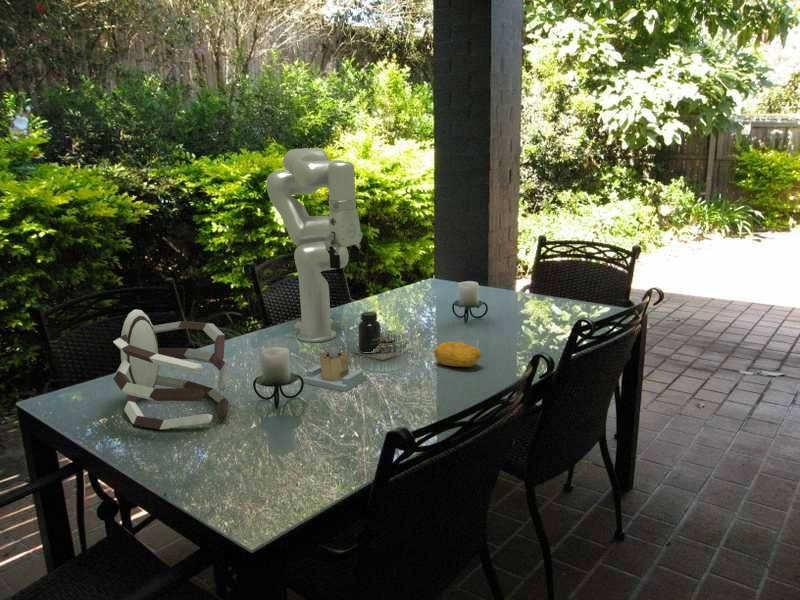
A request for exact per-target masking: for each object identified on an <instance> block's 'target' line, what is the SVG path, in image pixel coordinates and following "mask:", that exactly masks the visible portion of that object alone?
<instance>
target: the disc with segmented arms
mask: <svg viewBox="0 0 800 600" xmlns="http://www.w3.org/2000/svg"><path fill="white" fill-rule="evenodd" d="M182 329H183V330H184V329H190V330H201V331H203V332H204V333H206V335H207V336H208V337H210V338H211V340H213V342H214V349H213V352H212V351H211V352H210V351H205V350H200V349H195V348H189V347H159V345H158V338H157V335H156V334H157V333H163V332H164V333H165V332H169V331H175V330H182ZM225 335H226V334H225V333H223V332H222V331H221V330H220V329H219V328H218V327H217V326H216V325H215V324H214V323H209V322H199V321H187V320H186V321H184V320H181V321H176V322H175V321H174V322H168V323H167V322H166V323H163V324H157V325H153V324H152V322H151V319H150V318H149V315H147V314H146V313H145V312H144V311H143V310H141V309H133V310H131V312H129V313H128V314H127V316H126V318H125V320H124V322H123V325H122V329H121V336H119V337H117V338H116V339H115V340H113V341H112V342H113V344H114V345H115V346H116V347H117V348H118V349H119V350H120V361H121V363H120V365H119V367H118V368H117V370H116V371H115V374H114V376H113V377H112V379H113V381H114V382H115V384H116V385H117V387H118V388H119V390H120V391H121V392H123V393H125V394H126V395H127V397H126V401H125V405H124V409H123V411H124V412H125V414H126V415H127V417H128V418H129V421H130V422H131V424H132V423H133V424H136V425H135V426H138V425H140V426H139V427H143V426H144V427H145V428H150V429H156V430H170V429H169V428H173V429H179V427H180V428H186V427H193V426H199V425H207V424H210V423H211V421H212V419H213V414H209V413H203V414H196V415H189V416H182V417H175V418H169V419H159V418H154V417H148V416H145V415H144V414H143V413H142V411H141V410H140V408H139V406H138V405H137V404H136V400H137V398H139V399H140V398H141V399H145V400H148V401H149V400H150V401H153V402H201V401H202V400H203V398H204V395H206V396H205V397H208V396H210V397H209V398H211V399H212V398H213V399H212V400H214V401H215V402H216V403H217V402H218V403H217V410H216V413H215V415H216V416H218V417H219V418H220V419H222V418H223V417H224V416H225V415H227V413H228V408H229V401H228V399H227V398H226V397H225V396H224V395H223V394H222V393H220V392H218V391H217V390H216V389H215V388H214V387H210V386H207V385H205V384H200V383H197V382H194V381H191V380H185V379H181V378H174V377H171V376H164V375H159V368H160V366H162V367H166V368H171V369H175V370H179V371H182V372H183V371H184V372H188V373H192V374H197V375H199V374H200V373H201V372H202V371H204V368H203V365H202V364H201V363H197V362H202V363H207V364H212V365H213V366H214V367H216V369H218V371H219V376H218V383H217V389H219V390H220V391H221V392H225V390H226V388H227V387H228V385H229V383H230V373H231V366H230V365H229V364H228V363H227V362H226V361H224V358H225V339H226V338H225V337H226V336H225ZM189 360H193V361H197V362H193V361H189ZM156 385H157V386H162V387H163V386H164V387H166V388H158V387H157V388H155V387H156ZM133 424H132V425H133ZM144 427H143V428H144Z"/></svg>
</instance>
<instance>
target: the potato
mask: <svg viewBox="0 0 800 600" xmlns="http://www.w3.org/2000/svg"><path fill="white" fill-rule="evenodd" d="M433 354H434V356H435V359H436V360H437V361H438V362H439V363H441V364H442V365H443V366H450V367H454V366H455V367H454V368H465V367H467V368H469V367H472V366H474V365H475V364H477V363H478V361H479V360H480V358H481V355H482V352H481V351H480V349H478V348H477V347H475V346H473V345H470V344H466V343H464V342H462V341H461V342H460V341H444V342H441V343H439V344H438V345H437V346H436V347H435V348H434V351H433Z"/></svg>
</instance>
